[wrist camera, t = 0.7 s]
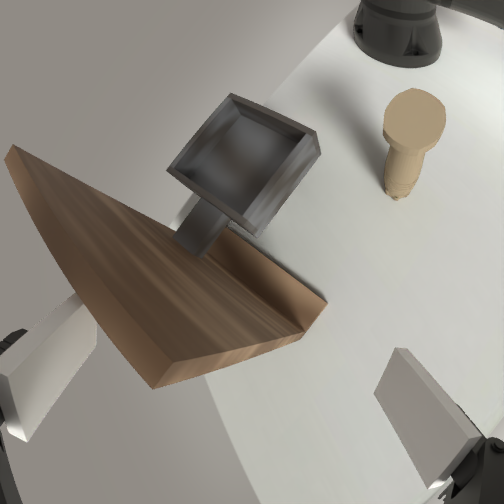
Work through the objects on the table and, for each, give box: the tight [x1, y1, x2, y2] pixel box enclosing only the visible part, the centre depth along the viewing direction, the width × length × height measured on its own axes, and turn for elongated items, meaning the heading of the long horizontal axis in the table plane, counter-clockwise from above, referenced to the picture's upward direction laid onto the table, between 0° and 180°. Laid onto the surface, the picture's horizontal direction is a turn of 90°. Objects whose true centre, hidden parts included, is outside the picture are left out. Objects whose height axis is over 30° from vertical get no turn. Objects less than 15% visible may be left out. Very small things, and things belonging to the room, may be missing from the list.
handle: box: [383, 88, 446, 201], centre depth 28 cm, size 5×6×15 cm
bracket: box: [4, 93, 328, 389], centre depth 25 cm, size 16×18×28 cm
